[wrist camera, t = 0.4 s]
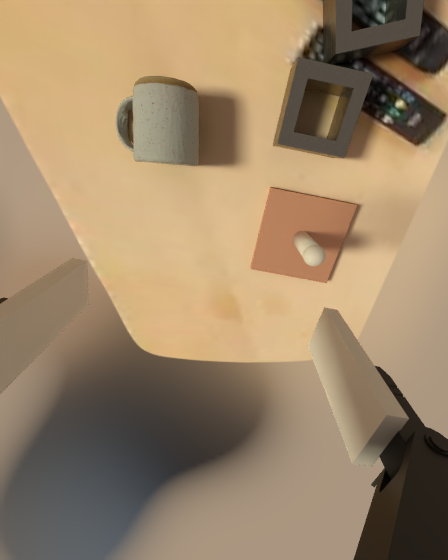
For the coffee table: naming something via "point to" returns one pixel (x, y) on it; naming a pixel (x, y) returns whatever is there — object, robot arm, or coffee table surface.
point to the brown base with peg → (301, 234)
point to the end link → (329, 81)
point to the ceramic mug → (161, 121)
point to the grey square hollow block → (368, 30)
